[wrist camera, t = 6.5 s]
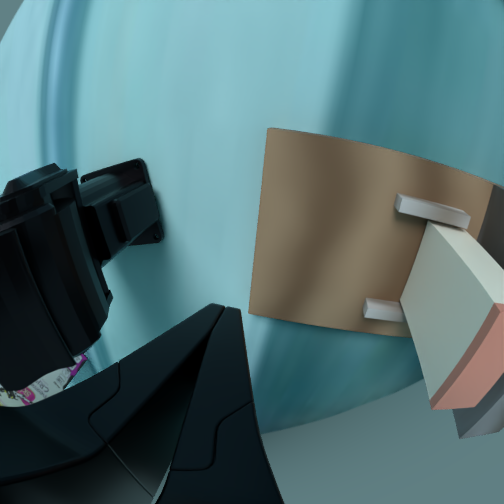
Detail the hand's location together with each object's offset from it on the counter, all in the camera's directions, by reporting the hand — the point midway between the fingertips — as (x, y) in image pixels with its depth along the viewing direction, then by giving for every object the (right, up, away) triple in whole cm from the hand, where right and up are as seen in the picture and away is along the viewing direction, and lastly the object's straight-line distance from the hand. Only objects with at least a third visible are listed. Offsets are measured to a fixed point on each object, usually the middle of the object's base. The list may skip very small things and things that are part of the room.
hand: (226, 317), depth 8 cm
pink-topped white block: (+13, +1, +9) cm, 15 cm away
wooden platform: (+11, +2, +10) cm, 15 cm away
